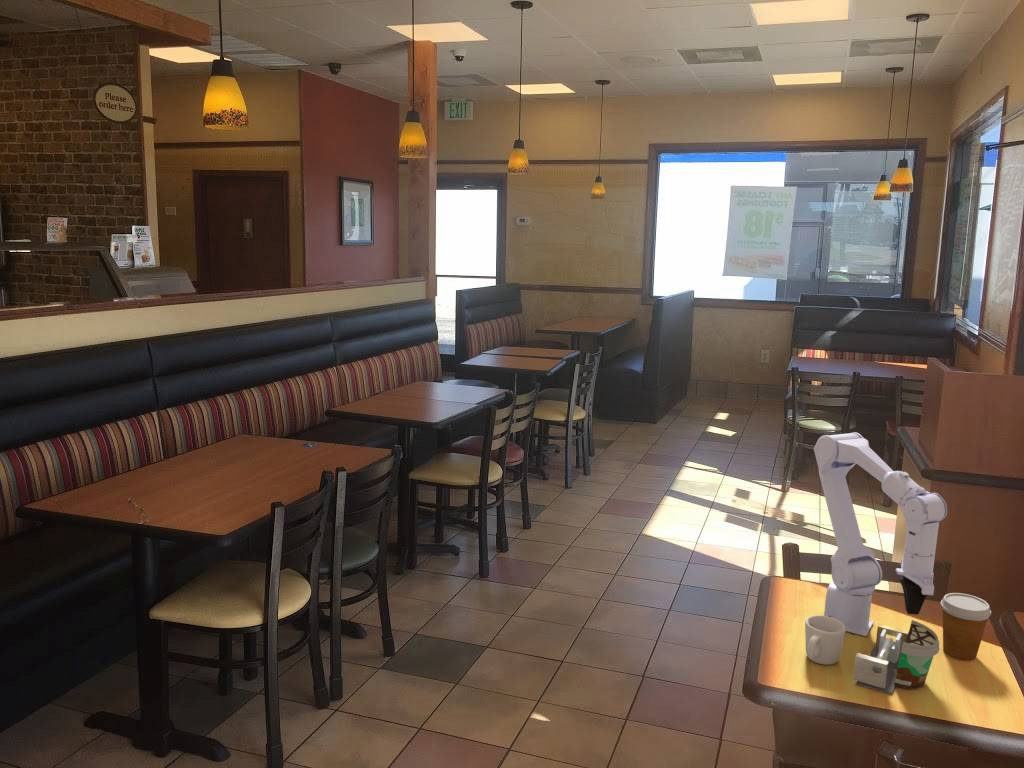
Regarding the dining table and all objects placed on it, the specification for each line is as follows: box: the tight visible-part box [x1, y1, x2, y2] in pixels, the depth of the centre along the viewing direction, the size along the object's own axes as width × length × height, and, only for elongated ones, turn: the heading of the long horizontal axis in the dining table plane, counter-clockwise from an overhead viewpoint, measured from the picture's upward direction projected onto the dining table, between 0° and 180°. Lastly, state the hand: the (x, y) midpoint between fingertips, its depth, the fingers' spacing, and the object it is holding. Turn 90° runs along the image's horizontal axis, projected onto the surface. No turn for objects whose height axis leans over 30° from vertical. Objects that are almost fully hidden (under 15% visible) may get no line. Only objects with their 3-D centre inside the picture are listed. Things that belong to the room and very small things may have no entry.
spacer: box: [875, 623, 909, 656], centre depth 181 cm, size 6×1×5 cm, turn 57°
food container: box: [894, 619, 940, 690], centre depth 170 cm, size 12×6×10 cm, turn 148°
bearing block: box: [878, 629, 902, 663], centre depth 179 cm, size 4×4×6 cm
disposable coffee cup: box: [940, 592, 992, 662], centre depth 181 cm, size 10×10×12 cm
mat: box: [855, 642, 900, 696], centre depth 176 cm, size 7×21×1 cm, turn 147°
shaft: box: [852, 637, 895, 688], centre depth 173 cm, size 6×13×5 cm, turn 147°
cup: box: [804, 615, 847, 666], centre depth 177 cm, size 11×8×8 cm
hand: (912, 612), depth 178 cm, fingers closed
